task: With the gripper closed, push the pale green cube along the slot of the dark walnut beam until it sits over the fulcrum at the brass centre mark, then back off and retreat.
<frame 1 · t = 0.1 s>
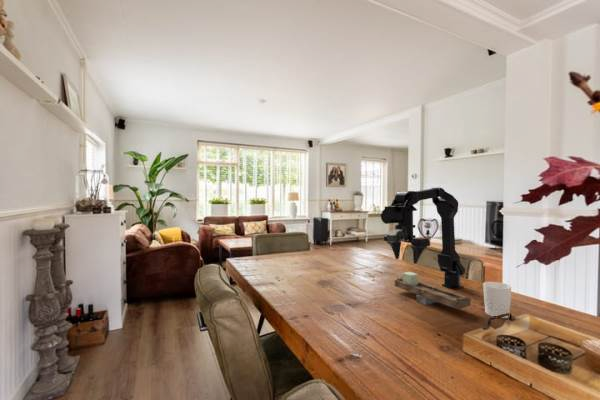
hand: (405, 261, 112), 15 cm above the table, fingers open, 9 cm apart
white cup: (497, 314, 95), on the table
beam: (429, 301, 108), on the table
pale green cube: (410, 278, 116), point 6 cm above the table, slide at -9.0 cm
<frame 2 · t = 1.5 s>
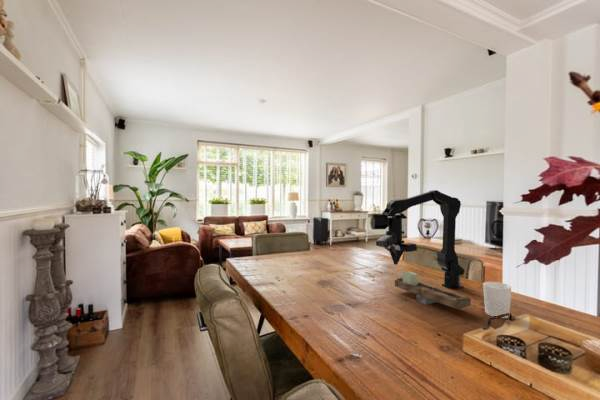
hand: (395, 264, 123), 11 cm above the table, fingers closed
nothing on the table moved.
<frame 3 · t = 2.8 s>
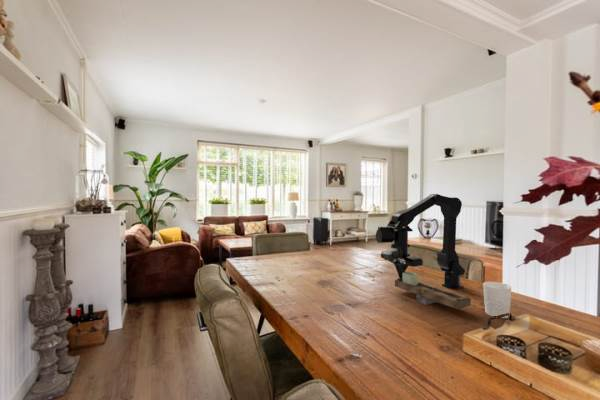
hand: (400, 277, 121), 5 cm above the table, fingers closed
nothing on the table moved.
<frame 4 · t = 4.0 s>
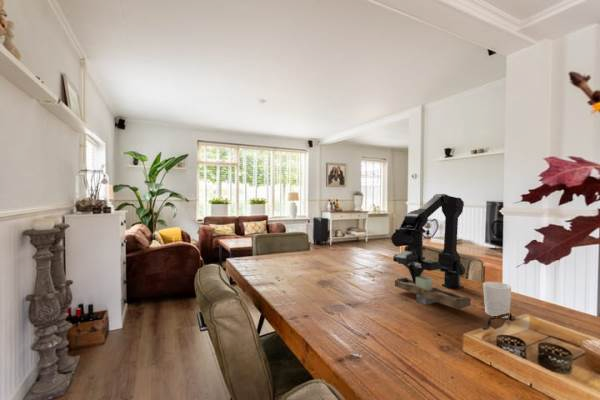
hand: (415, 282, 114), 5 cm above the table, fingers closed
pale green cube: (423, 283, 110), point 6 cm above the table, slide at -2.3 cm, touching gripper
everything else where it was.
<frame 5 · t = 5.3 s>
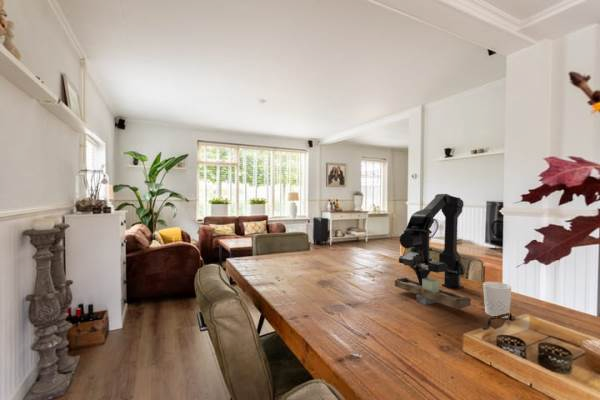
hand: (421, 284, 111), 6 cm above the table, fingers closed
pale green cube: (430, 285, 107), point 6 cm above the table, slide at 0.8 cm, touching gripper
everything else where it was.
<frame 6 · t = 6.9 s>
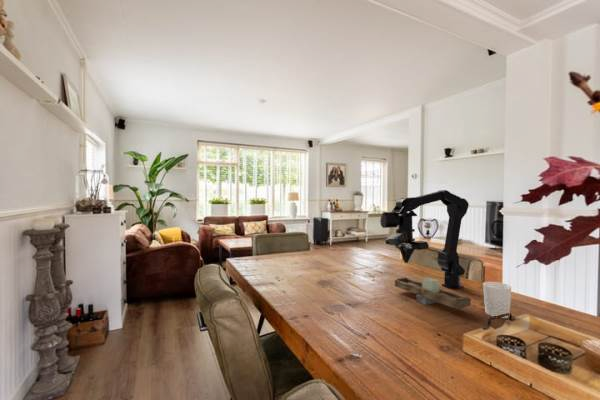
hand: (406, 262, 121), 12 cm above the table, fingers closed
pale green cube: (430, 285, 107), point 6 cm above the table, slide at 0.8 cm
everything else where it was.
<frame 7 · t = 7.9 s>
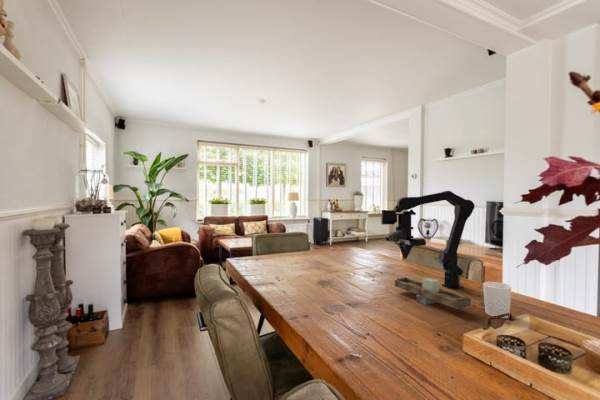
hand: (405, 258, 128), 12 cm above the table, fingers closed
nothing on the table moved.
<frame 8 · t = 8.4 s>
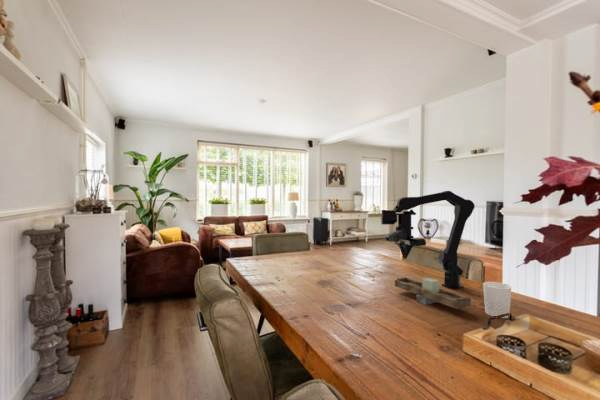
hand: (405, 258, 128), 12 cm above the table, fingers closed
nothing on the table moved.
at the end: pale green cube slide at 0.8 cm; pale green cube touching nothing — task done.
